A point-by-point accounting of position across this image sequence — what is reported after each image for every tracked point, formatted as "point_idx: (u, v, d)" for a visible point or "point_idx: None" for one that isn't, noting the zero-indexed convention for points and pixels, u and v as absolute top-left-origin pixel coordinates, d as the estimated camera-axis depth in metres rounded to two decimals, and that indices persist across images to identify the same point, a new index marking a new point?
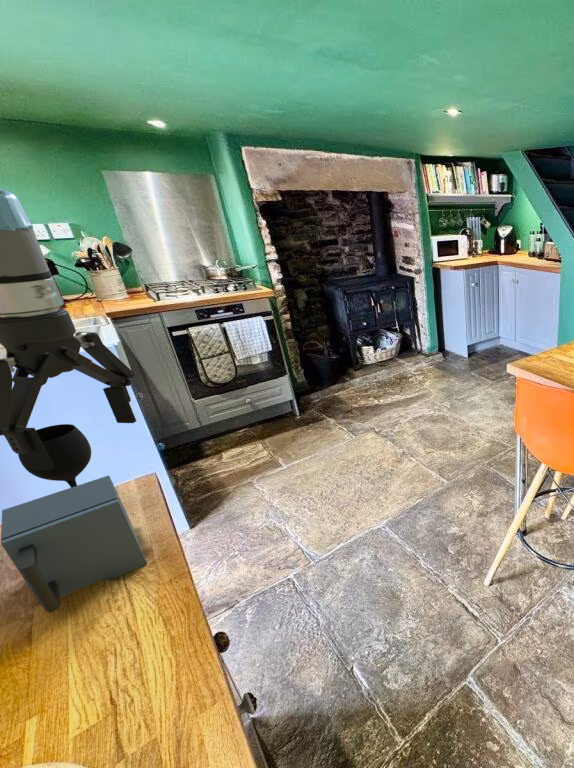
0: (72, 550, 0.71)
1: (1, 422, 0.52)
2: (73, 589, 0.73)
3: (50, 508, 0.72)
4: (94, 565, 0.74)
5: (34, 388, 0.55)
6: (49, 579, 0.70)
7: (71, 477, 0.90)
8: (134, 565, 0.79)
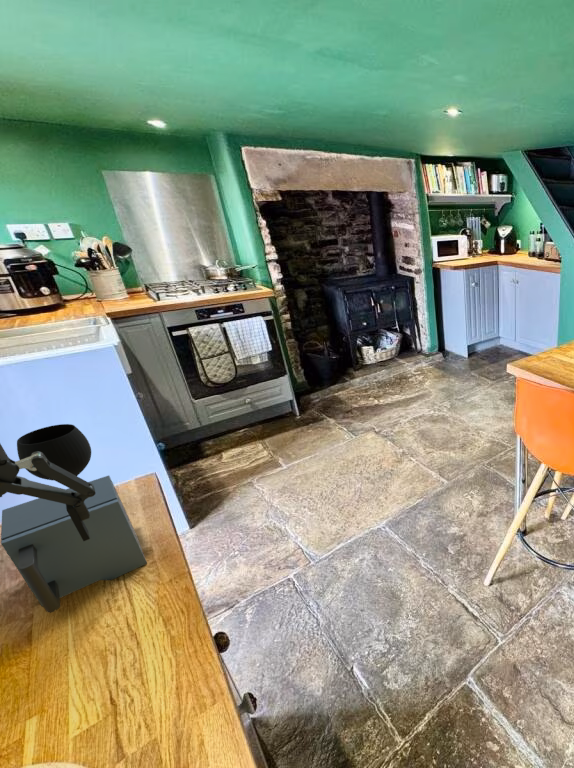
0: (72, 550, 0.71)
1: None
2: (73, 589, 0.73)
3: (50, 508, 0.72)
4: (94, 565, 0.74)
5: None
6: (49, 579, 0.70)
7: None
8: (134, 565, 0.79)
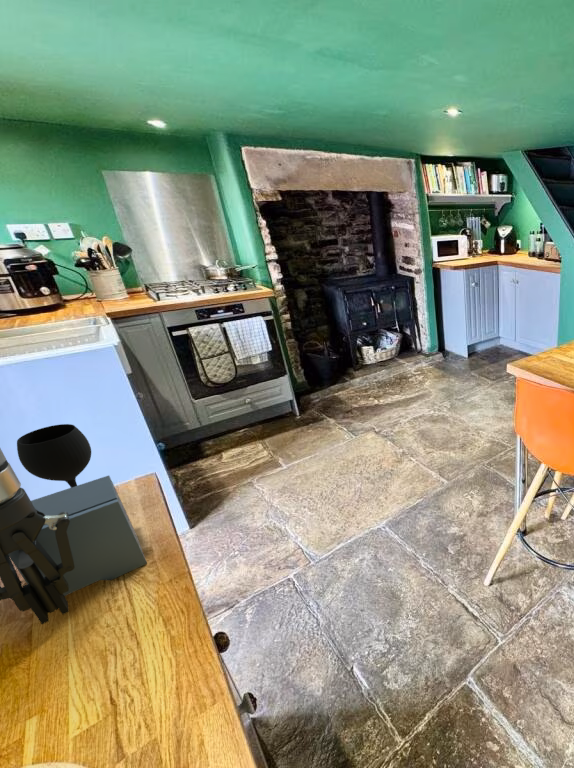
0: (72, 550, 0.71)
1: None
2: (73, 589, 0.73)
3: (50, 508, 0.72)
4: (94, 565, 0.74)
5: (1, 567, 0.60)
6: None
7: (71, 477, 0.90)
8: (134, 565, 0.79)
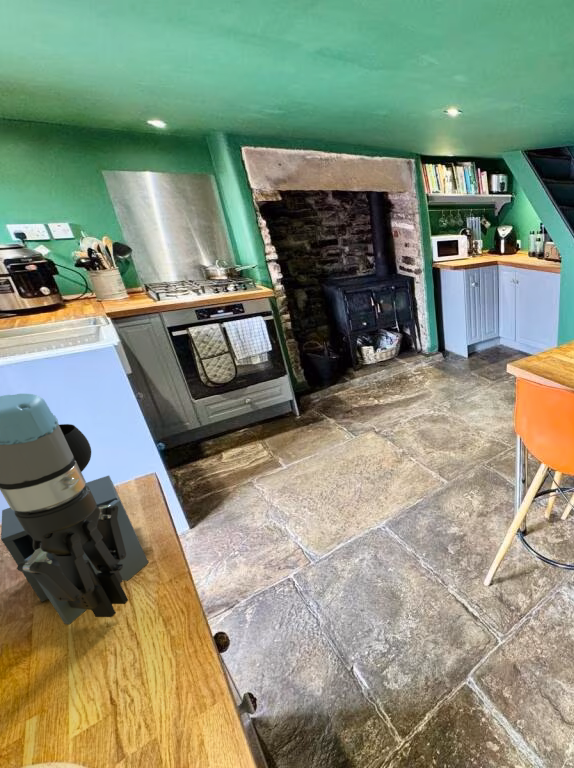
0: (88, 558, 0.70)
1: (72, 593, 0.60)
2: None
3: None
4: None
5: (78, 561, 0.61)
6: None
7: None
8: (139, 565, 0.79)
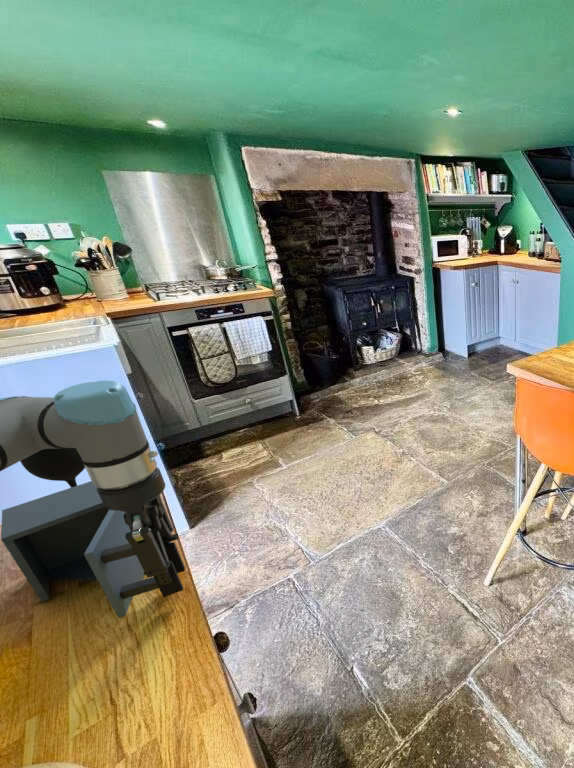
0: None
1: (163, 563, 0.66)
2: None
3: (50, 508, 0.72)
4: (132, 567, 0.74)
5: (158, 534, 0.67)
6: (120, 586, 0.69)
7: (71, 477, 0.90)
8: None
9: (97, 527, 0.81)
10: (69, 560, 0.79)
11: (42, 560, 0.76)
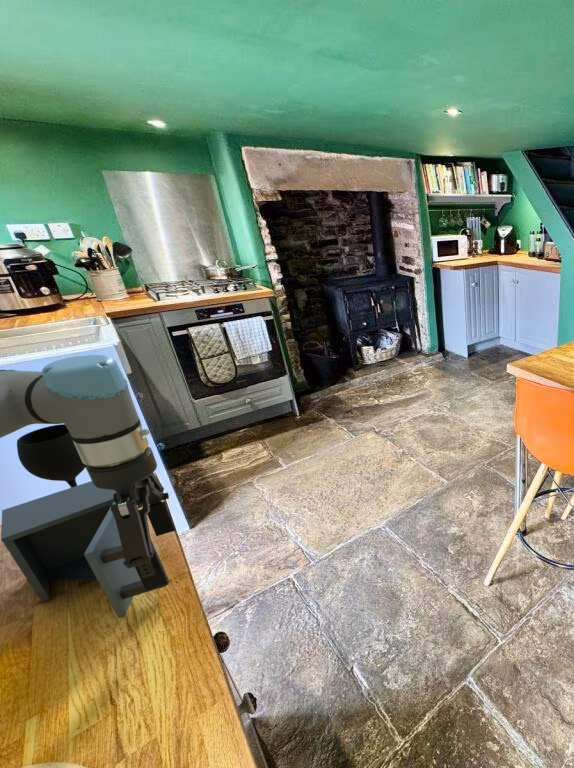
0: None
1: (146, 550, 0.60)
2: None
3: (50, 508, 0.72)
4: (132, 567, 0.74)
5: (145, 517, 0.63)
6: (120, 586, 0.69)
7: (71, 477, 0.90)
8: None
9: (97, 527, 0.81)
10: (69, 560, 0.79)
11: (42, 560, 0.76)
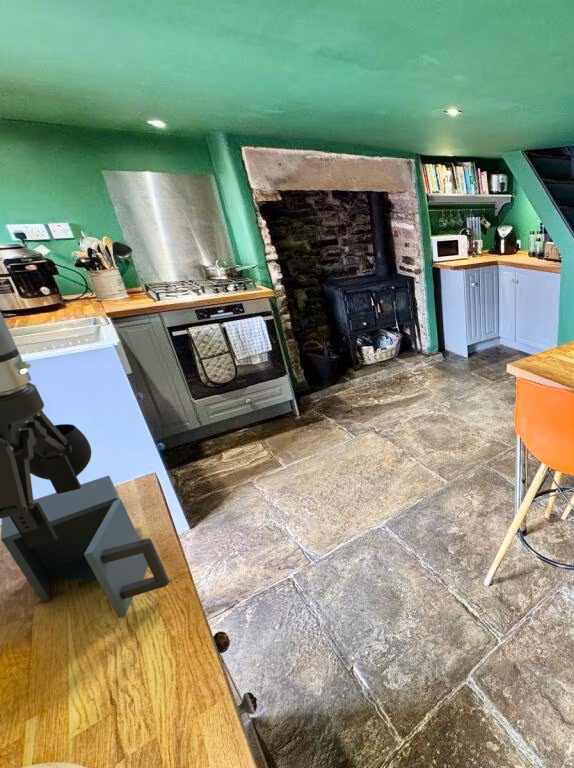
0: None
1: (21, 499, 0.52)
2: None
3: (50, 508, 0.72)
4: (132, 567, 0.74)
5: (26, 464, 0.55)
6: (120, 586, 0.69)
7: None
8: (146, 564, 0.79)
9: (97, 527, 0.81)
10: (69, 560, 0.79)
11: (42, 560, 0.76)
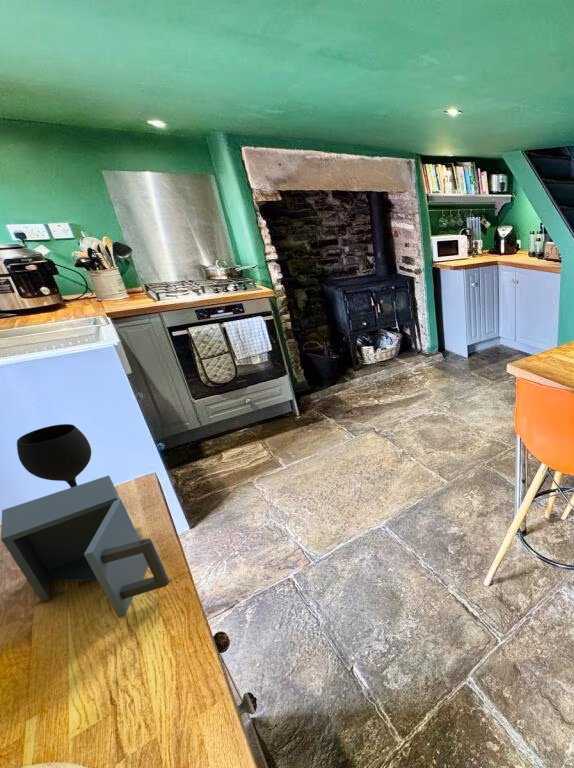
0: None
1: None
2: None
3: (50, 508, 0.72)
4: (132, 567, 0.74)
5: None
6: (120, 586, 0.69)
7: (71, 477, 0.90)
8: (146, 564, 0.79)
9: (97, 527, 0.81)
10: (69, 560, 0.79)
11: (42, 560, 0.76)
